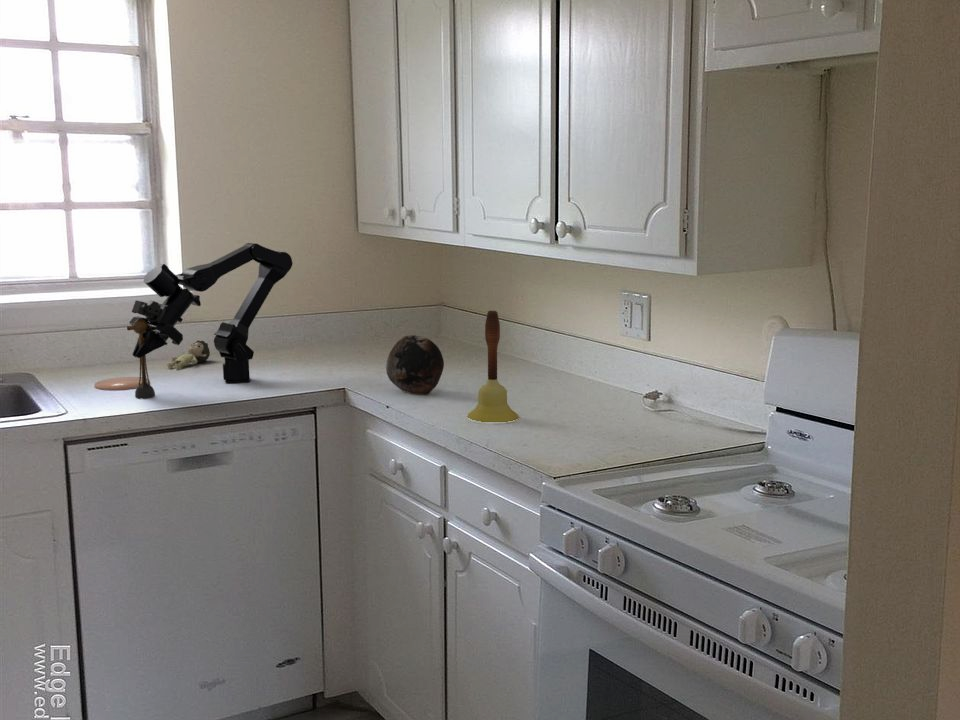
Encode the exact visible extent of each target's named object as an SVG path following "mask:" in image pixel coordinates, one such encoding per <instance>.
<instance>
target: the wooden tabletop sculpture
mask: <svg viewBox="0 0 960 720" xmlns="http://www.w3.org/2000/svg"><path fill="white" fill-rule="evenodd" d="M146 328H147V329H148V323H147V322H146V320H144V319H137V320H136V321H135V322H134V324H133V326H132V325H128V326H126V330H127V331H134V332H135V334H138V337H137V341H138V340H139V348H140V346H141V345H142V343H143V341H144V338H143V333H145V332H146ZM139 336H140V338H139ZM146 355H147V354H146ZM146 355H144V356H142V357H140V358H139V377H140V378H139V386H138V387H137V388H135V390H134V396H135V399H140V398H143V399H150V398H154V397H156V392H155V389H154V387H153V386H152V385H151V383H150V382H149V380H150V378H149V373H148V367H147V357H146ZM141 377H142V383H141V384H140V382H141ZM146 378H147V379H148V383H149V384H148V383H147V379H146Z"/></svg>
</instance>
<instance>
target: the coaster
mask: <svg viewBox="0 0 960 720" xmlns="http://www.w3.org/2000/svg"><path fill="white" fill-rule="evenodd" d="M139 378H140V376H120V377H119V376H118V377H111V378H105V379H102V380H98V381H96V382H94V388H95V389H98V390H102V391H124V390H133V389H136V388H137V387H138V386H139ZM146 379H147V377H146ZM149 382H150V379H149ZM141 383H142V376H141V382H140V384H141ZM147 383H148V379H147ZM148 384H149V383H148Z"/></svg>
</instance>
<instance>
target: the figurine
mask: <svg viewBox="0 0 960 720" xmlns="http://www.w3.org/2000/svg"><path fill="white" fill-rule="evenodd" d="M210 354H211V351H210V348H209V343H208V342H205V340H196V341H195V342H193V343H192V344H190V346H189V347H188V350H187V353H185V354H183V355H181V356H179V357H176V356H175V357H172V358H171V362H169V363H167V364H166V366H167V369H168V370H171V369H174V366H175V369H176V371H178V370H180V369H182V368H184V367H186V366H187V365H188V364H190V363H191V364H193V365H194V364H201V363H205V362H206V361H207V360H208V359H209V358H210Z"/></svg>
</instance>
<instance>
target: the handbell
mask: <svg viewBox="0 0 960 720" xmlns="http://www.w3.org/2000/svg"><path fill="white" fill-rule="evenodd" d="M484 323H485V324H484V329H485V330H484V340H485V343H486V345H487V380H486V383H485V384H483V385H481V386H480V387H479V389H478V396H477V404H476V406H475V408H473V409H472V410H471V411H470V412H469V413H468V414H467V415H468V416H467V415H466V417H468V418H470V419H472V420H476V421H481V422H508V421H513V420H516V419H518V418H519V419H520V416H519V414H518V413H516V412H515V411H514V410H513V409H512V408H511V407H510V405H509V403H508V393H507V388H506V387H505V386H503V385H501V384H500V382H499V380H498V348H499V347H498V345H499V343H500V340H501V339H500V337H501V333H500V332H501V331H500V330H501V328H500V327H501V326H500V319H499V314H498V311H497V310H488V312H487V313H486V319H485V322H484ZM519 419H518V420H519Z"/></svg>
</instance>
